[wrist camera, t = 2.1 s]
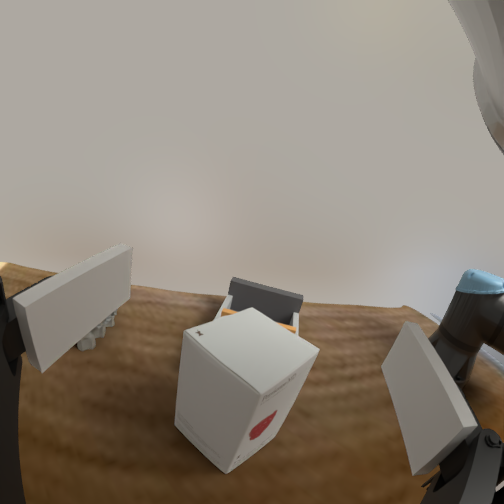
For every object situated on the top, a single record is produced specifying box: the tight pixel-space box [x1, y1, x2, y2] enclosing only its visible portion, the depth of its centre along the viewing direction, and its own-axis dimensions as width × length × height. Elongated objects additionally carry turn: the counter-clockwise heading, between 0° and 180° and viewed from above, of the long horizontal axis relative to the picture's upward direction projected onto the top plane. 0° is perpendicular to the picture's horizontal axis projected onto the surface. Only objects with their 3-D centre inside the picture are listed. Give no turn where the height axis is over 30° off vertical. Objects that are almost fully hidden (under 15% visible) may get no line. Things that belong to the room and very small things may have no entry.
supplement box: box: [175, 307, 319, 474], centre depth 25 cm, size 9×9×15 cm
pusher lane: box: [213, 277, 303, 336], centre depth 44 cm, size 22×14×7 cm, turn 171°
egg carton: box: [77, 309, 118, 351], centre depth 37 cm, size 11×8×4 cm
